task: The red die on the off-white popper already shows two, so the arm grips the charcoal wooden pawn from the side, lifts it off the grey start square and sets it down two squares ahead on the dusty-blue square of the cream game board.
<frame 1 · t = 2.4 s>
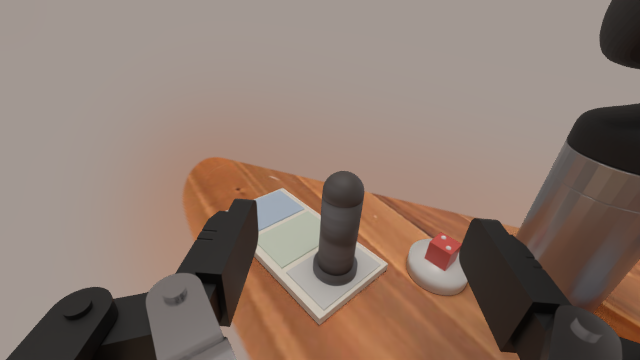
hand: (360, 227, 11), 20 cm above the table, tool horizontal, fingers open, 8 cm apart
charcoal pawn: (334, 268, 34), point 1 cm above the table, touching game board
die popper: (435, 271, 36), on the table
game board: (296, 242, 39), on the table
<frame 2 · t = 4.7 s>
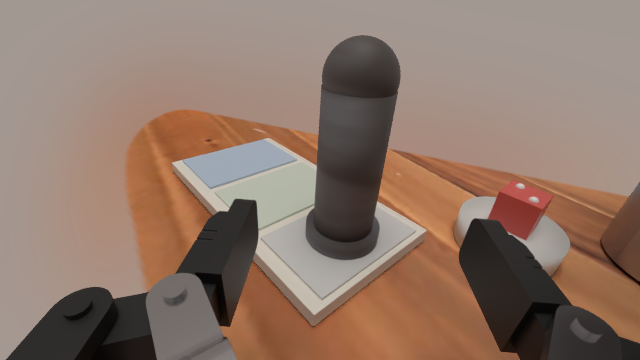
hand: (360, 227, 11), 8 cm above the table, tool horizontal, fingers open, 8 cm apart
charcoal pawn: (341, 233, 21), point 1 cm above the table, touching game board
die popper: (501, 244, 23), on the table
game board: (282, 201, 26), on the table
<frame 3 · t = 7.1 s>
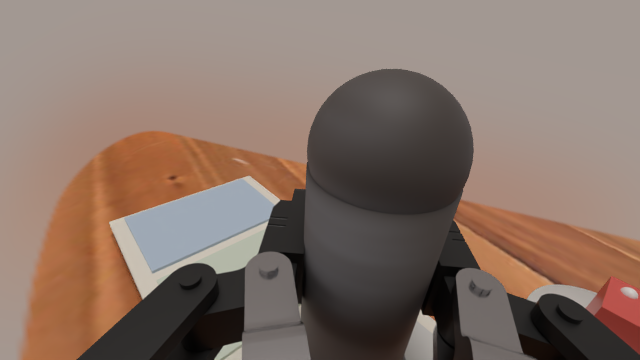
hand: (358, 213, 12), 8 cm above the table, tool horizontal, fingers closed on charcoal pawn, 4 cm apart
game board: (259, 287, 18), on the table
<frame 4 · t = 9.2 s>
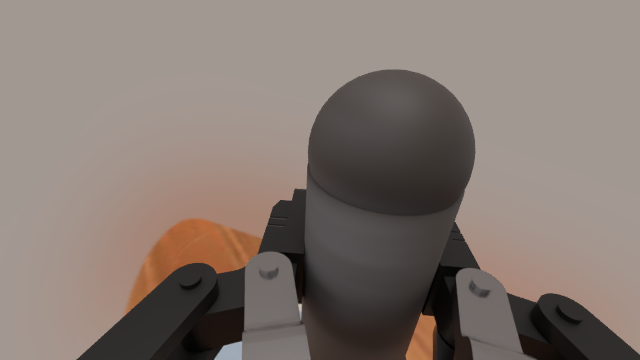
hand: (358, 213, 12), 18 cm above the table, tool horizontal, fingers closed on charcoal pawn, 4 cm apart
when the fingers open (9 cm above the table, at t = 11.8 s): charcoal pawn drops 1 cm, resting on game board.
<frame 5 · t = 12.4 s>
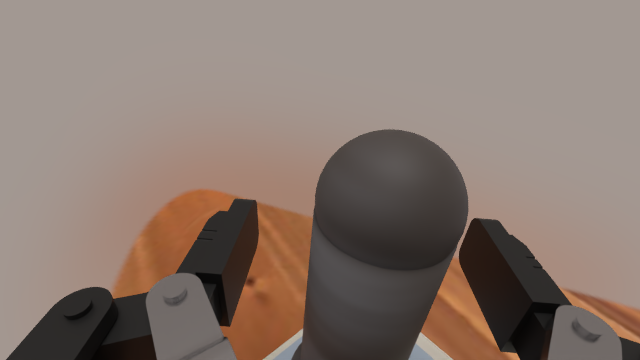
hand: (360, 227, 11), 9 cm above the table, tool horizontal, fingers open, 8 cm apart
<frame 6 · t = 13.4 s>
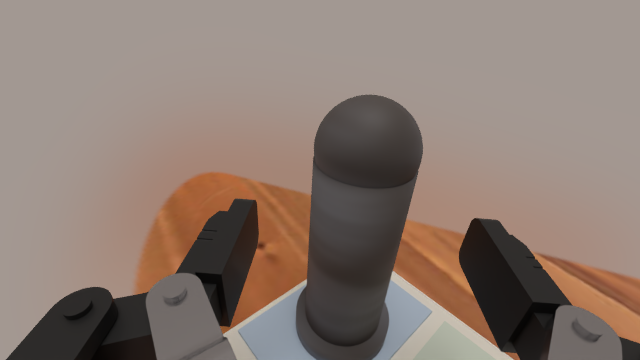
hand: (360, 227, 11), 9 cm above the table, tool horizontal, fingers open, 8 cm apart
charcoal pawn: (340, 321, 17), point 1 cm above the table, touching game board
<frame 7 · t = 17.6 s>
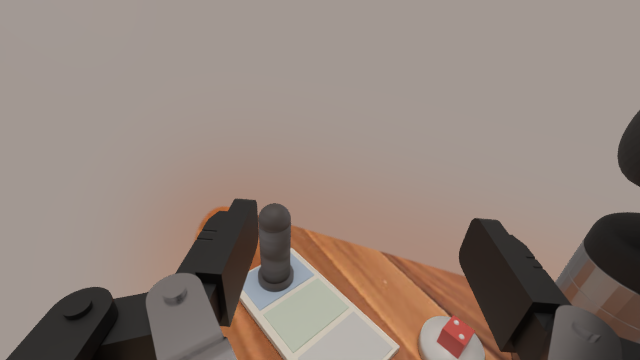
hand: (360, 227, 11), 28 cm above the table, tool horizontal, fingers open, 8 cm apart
charcoal pawn: (276, 277, 42), point 1 cm above the table, touching game board
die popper: (447, 352, 36), on the table
game board: (306, 316, 39), on the table
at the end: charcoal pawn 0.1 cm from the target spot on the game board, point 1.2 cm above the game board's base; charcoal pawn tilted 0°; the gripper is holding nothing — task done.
